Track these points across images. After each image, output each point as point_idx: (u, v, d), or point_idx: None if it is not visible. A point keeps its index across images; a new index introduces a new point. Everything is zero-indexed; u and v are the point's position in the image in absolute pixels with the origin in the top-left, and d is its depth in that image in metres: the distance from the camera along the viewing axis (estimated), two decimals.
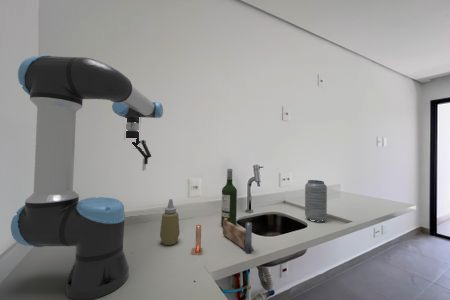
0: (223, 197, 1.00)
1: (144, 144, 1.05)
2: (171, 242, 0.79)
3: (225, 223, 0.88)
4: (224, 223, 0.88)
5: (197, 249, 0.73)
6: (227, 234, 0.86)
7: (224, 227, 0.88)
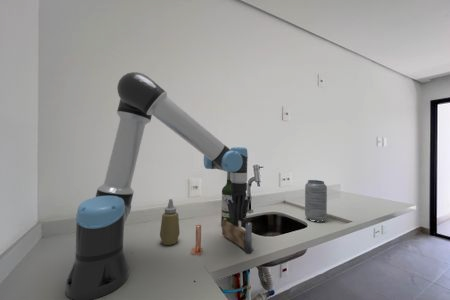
0: (223, 197, 1.00)
1: (248, 202, 0.88)
2: (171, 242, 0.79)
3: (224, 223, 0.87)
4: (223, 223, 0.88)
5: (197, 249, 0.73)
6: (226, 234, 0.86)
7: (223, 228, 0.88)
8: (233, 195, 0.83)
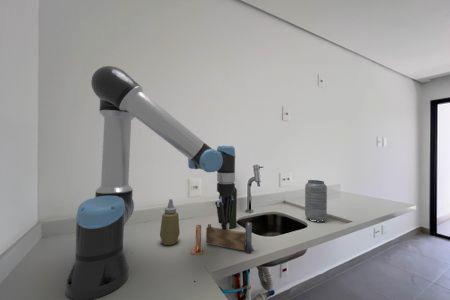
0: None
1: None
2: (171, 242, 0.79)
3: (211, 230, 0.79)
4: (209, 230, 0.80)
5: (197, 249, 0.73)
6: (215, 241, 0.79)
7: (209, 235, 0.80)
8: (223, 197, 0.78)
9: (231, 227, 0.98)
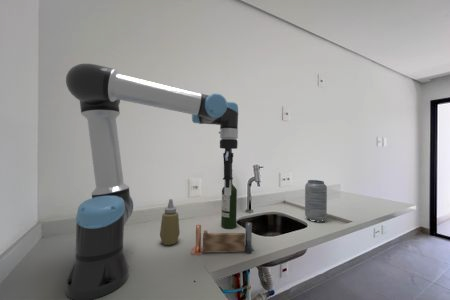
0: (223, 197, 1.00)
1: None
2: (171, 242, 0.79)
3: (208, 236, 0.73)
4: (206, 237, 0.73)
5: (197, 249, 0.73)
6: (213, 247, 0.73)
7: (206, 242, 0.73)
8: (229, 151, 0.79)
9: (231, 227, 0.98)
